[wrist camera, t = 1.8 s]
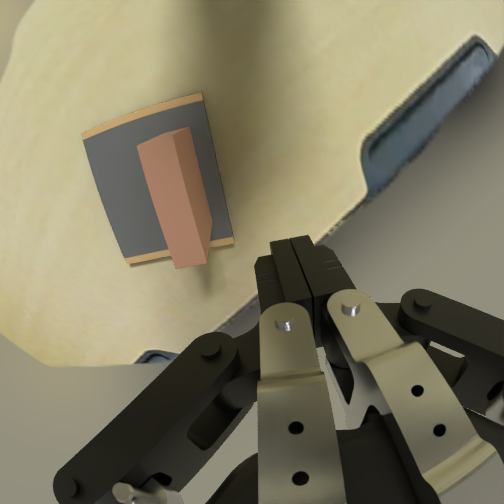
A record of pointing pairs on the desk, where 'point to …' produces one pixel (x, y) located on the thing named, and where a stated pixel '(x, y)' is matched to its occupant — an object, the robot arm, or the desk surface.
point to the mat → (133, 178)
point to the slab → (178, 195)
